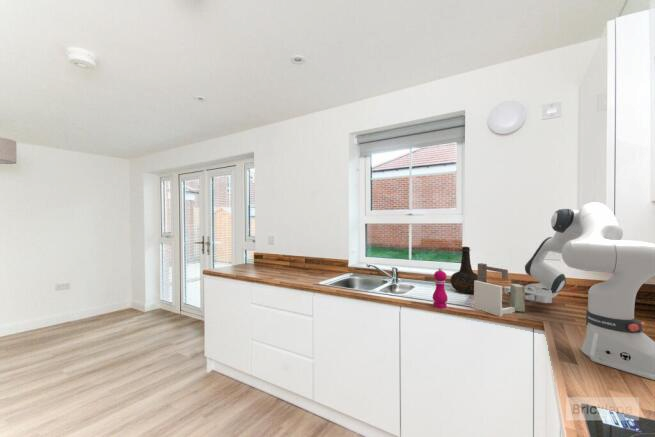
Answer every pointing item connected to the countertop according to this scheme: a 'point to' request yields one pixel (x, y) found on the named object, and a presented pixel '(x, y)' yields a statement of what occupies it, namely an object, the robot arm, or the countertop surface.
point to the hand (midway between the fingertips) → (516, 295)
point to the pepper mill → (440, 289)
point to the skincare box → (517, 297)
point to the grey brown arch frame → (483, 270)
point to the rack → (489, 299)
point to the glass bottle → (464, 274)
